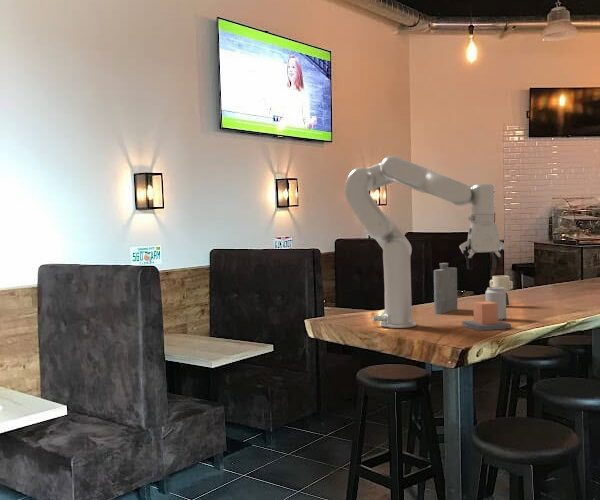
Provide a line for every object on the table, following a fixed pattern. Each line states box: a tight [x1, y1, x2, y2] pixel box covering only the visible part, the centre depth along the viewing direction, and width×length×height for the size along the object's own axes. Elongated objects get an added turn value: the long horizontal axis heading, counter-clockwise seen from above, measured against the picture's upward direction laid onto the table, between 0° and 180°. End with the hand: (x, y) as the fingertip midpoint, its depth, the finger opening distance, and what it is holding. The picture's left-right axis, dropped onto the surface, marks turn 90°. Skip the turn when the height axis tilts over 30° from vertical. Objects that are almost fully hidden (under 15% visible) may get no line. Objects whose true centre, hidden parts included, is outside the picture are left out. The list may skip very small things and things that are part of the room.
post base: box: [461, 319, 512, 332], centre depth 225 cm, size 12×12×6 cm
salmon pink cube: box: [472, 301, 499, 324], centre depth 225 cm, size 6×6×7 cm
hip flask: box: [433, 262, 458, 315], centre depth 265 cm, size 16×4×20 cm, turn 139°
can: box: [484, 286, 507, 321], centre depth 241 cm, size 8×8×12 cm
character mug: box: [489, 275, 514, 306], centre depth 275 cm, size 11×7×13 cm, turn 41°
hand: (482, 268), depth 225 cm, fingers open, 9 cm apart
